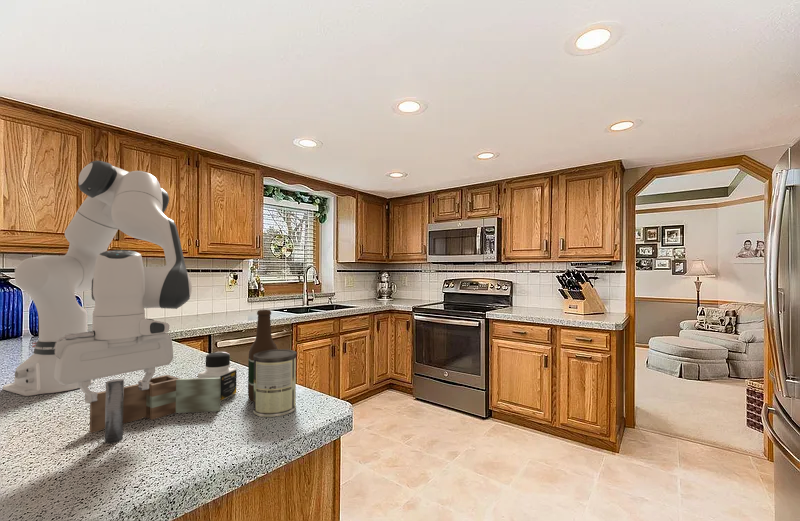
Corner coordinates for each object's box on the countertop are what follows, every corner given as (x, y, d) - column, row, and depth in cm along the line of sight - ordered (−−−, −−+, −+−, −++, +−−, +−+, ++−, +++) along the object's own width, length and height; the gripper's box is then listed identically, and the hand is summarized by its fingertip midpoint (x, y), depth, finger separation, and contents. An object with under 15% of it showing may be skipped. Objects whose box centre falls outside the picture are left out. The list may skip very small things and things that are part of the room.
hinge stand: (190, 399, 105) (191, 369, 106) (221, 410, 97) (222, 377, 98) (84, 428, 86) (85, 392, 86) (112, 445, 78) (113, 404, 78)
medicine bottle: (220, 401, 104) (221, 356, 104) (196, 400, 105) (197, 355, 106) (236, 393, 111) (237, 351, 111) (214, 392, 112) (215, 349, 113)
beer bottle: (260, 405, 101) (261, 312, 102) (241, 399, 105) (242, 310, 106) (284, 396, 108) (285, 309, 109) (265, 392, 112) (266, 308, 113)
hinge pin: (100, 442, 79) (102, 382, 79) (115, 436, 82) (116, 378, 82) (112, 444, 78) (113, 383, 79) (126, 437, 81) (127, 379, 82)
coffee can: (245, 409, 98) (246, 353, 98) (283, 400, 105) (284, 347, 106) (264, 421, 91) (265, 359, 91) (303, 410, 98) (304, 353, 98)
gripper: (61, 336, 71) (60, 414, 70) (177, 323, 88) (176, 385, 87) (48, 334, 74) (47, 407, 74) (162, 321, 91) (162, 381, 91)
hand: (118, 395), depth 81 cm, fingers open, 8 cm apart
